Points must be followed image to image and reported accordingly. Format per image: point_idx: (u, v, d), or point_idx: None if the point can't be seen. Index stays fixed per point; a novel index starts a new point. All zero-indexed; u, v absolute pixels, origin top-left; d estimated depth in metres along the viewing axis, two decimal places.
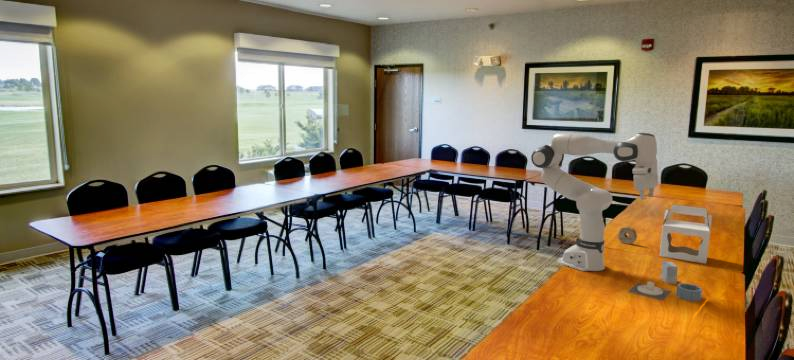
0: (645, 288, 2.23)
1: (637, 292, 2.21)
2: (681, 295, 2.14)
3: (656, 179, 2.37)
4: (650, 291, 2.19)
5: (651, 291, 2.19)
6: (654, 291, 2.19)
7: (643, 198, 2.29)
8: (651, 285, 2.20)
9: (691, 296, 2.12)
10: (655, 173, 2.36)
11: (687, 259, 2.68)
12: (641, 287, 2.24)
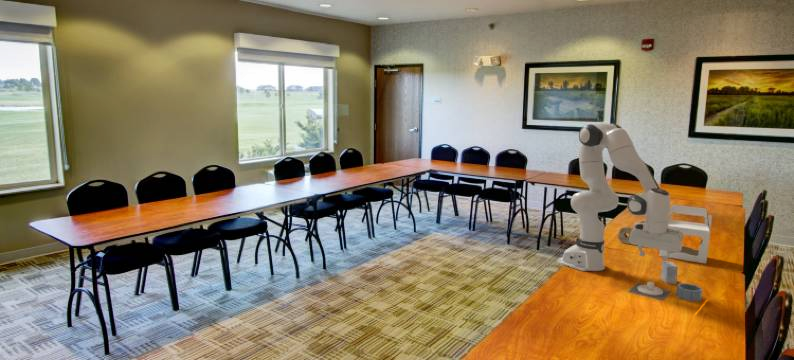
0: (645, 288, 2.23)
1: (637, 292, 2.21)
2: (681, 295, 2.14)
3: (673, 244, 2.12)
4: (650, 291, 2.19)
5: (651, 291, 2.19)
6: (654, 291, 2.19)
7: None
8: (651, 285, 2.20)
9: (691, 296, 2.12)
10: (670, 236, 2.12)
11: (687, 259, 2.68)
12: (641, 287, 2.24)
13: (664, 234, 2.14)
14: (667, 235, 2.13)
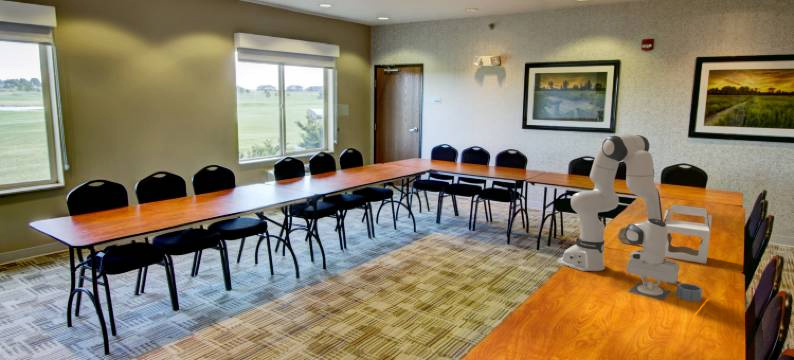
0: (645, 288, 2.23)
1: (637, 292, 2.21)
2: (681, 295, 2.14)
3: (669, 275, 2.14)
4: (650, 291, 2.19)
5: (651, 291, 2.19)
6: (654, 291, 2.19)
7: None
8: (651, 285, 2.20)
9: (691, 296, 2.12)
10: (666, 267, 2.15)
11: (687, 259, 2.68)
12: (641, 287, 2.24)
13: (661, 264, 2.16)
14: (664, 266, 2.15)
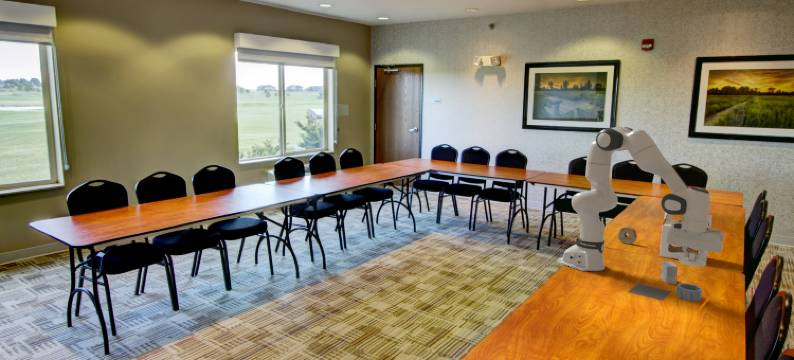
0: (687, 259, 2.14)
1: (637, 292, 2.21)
2: (681, 295, 2.14)
3: (713, 243, 2.06)
4: (692, 262, 2.11)
5: (694, 262, 2.11)
6: (697, 262, 2.11)
7: None
8: (694, 256, 2.12)
9: (691, 296, 2.12)
10: (710, 236, 2.06)
11: None
12: (682, 259, 2.15)
13: (704, 233, 2.08)
14: (707, 234, 2.07)
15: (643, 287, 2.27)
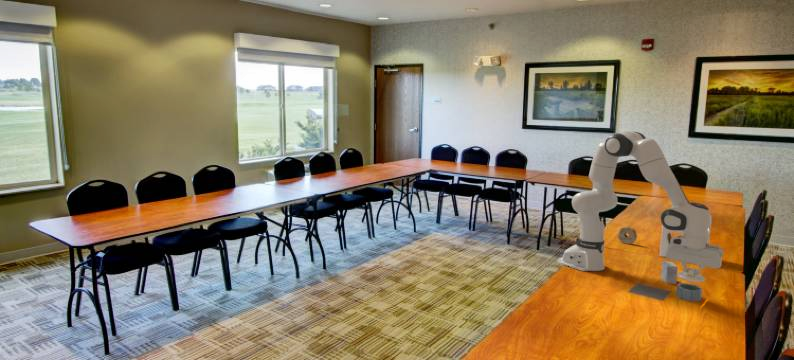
0: (686, 275, 2.16)
1: (637, 292, 2.21)
2: (681, 295, 2.14)
3: (712, 260, 2.07)
4: (691, 278, 2.12)
5: (693, 277, 2.12)
6: (696, 277, 2.12)
7: None
8: (693, 271, 2.13)
9: (691, 296, 2.12)
10: (710, 252, 2.08)
11: None
12: (682, 274, 2.17)
13: (703, 249, 2.09)
14: (706, 250, 2.08)
15: (643, 287, 2.27)
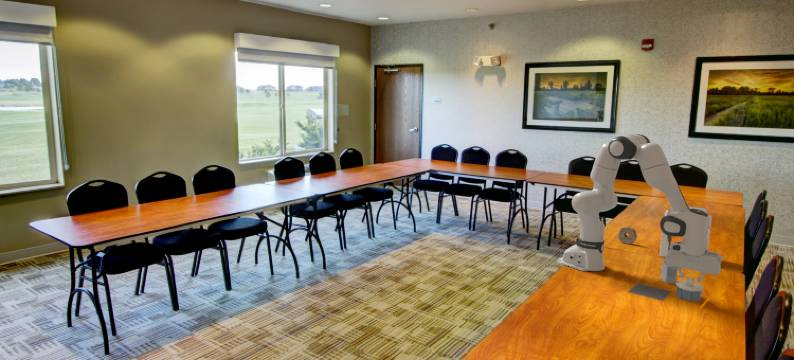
0: (684, 284, 2.16)
1: (637, 292, 2.21)
2: (681, 295, 2.14)
3: (711, 266, 2.08)
4: (690, 287, 2.13)
5: (691, 287, 2.13)
6: (694, 287, 2.13)
7: None
8: (691, 280, 2.14)
9: (691, 296, 2.12)
10: (709, 259, 2.08)
11: None
12: (680, 283, 2.18)
13: (702, 256, 2.10)
14: (705, 257, 2.09)
15: (643, 287, 2.27)
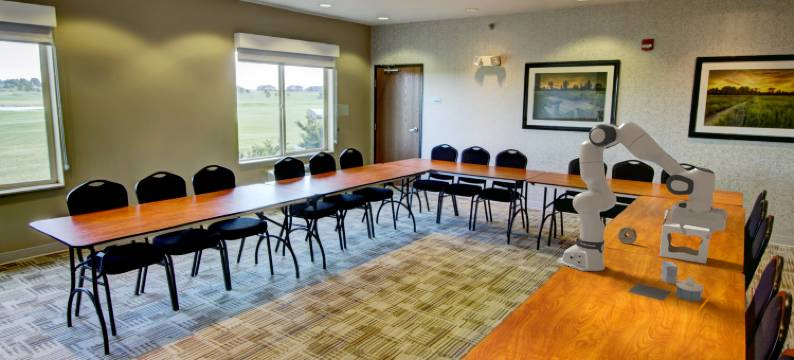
0: (684, 284, 2.16)
1: (637, 292, 2.21)
2: (681, 295, 2.14)
3: (716, 222, 2.13)
4: (690, 287, 2.13)
5: (691, 287, 2.13)
6: (694, 287, 2.13)
7: None
8: (691, 280, 2.14)
9: (691, 296, 2.12)
10: (714, 215, 2.14)
11: (687, 259, 2.68)
12: (680, 283, 2.18)
13: (708, 213, 2.15)
14: (711, 214, 2.15)
15: (643, 287, 2.27)
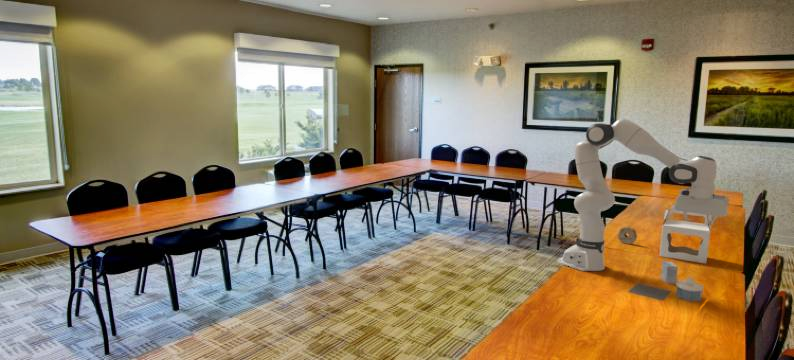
0: (684, 284, 2.16)
1: (637, 292, 2.21)
2: (681, 295, 2.14)
3: (719, 208, 2.20)
4: (690, 287, 2.13)
5: (691, 287, 2.13)
6: (694, 287, 2.13)
7: None
8: (691, 280, 2.14)
9: (691, 296, 2.12)
10: (716, 201, 2.21)
11: (687, 259, 2.68)
12: (680, 283, 2.18)
13: (710, 199, 2.22)
14: (713, 200, 2.21)
15: (643, 287, 2.27)
